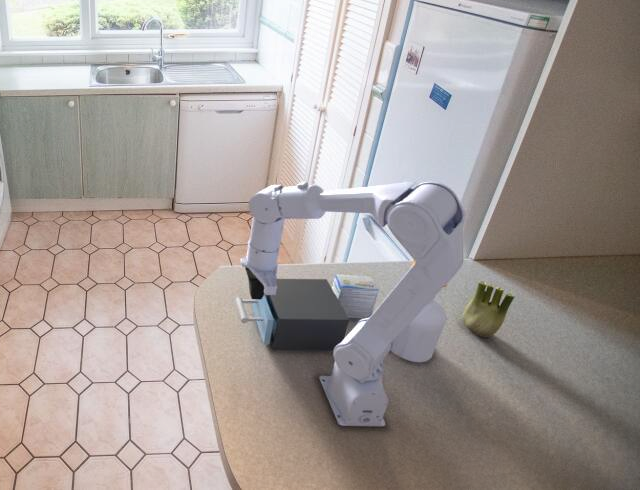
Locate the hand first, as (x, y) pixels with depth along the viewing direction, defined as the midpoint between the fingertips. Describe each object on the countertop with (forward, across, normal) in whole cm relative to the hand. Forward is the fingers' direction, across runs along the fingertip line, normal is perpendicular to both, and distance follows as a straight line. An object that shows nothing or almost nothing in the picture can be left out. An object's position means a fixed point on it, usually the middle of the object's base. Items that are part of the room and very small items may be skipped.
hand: (255, 297), depth 93 cm
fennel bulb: (+9, 0, +48) cm, 49 cm away
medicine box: (+9, -5, +23) cm, 25 cm away
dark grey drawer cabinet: (+9, 0, +10) cm, 13 cm away
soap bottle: (+9, +4, +31) cm, 32 cm away
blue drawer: (+8, 0, +5) cm, 9 cm away
